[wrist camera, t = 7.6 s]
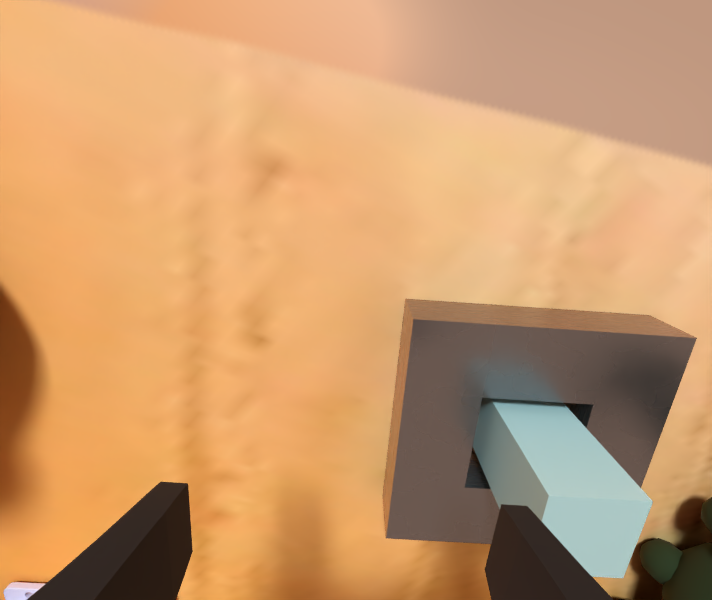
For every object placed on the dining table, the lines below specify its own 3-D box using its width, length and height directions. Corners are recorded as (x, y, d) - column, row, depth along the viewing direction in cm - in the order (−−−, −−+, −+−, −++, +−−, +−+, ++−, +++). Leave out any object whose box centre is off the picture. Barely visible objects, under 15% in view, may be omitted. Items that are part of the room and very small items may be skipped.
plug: (467, 435, 19) (526, 572, 13) (478, 378, 18) (549, 495, 12) (531, 439, 19) (623, 578, 13) (545, 383, 18) (653, 501, 12)
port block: (382, 496, 20) (386, 538, 18) (405, 299, 17) (413, 318, 15) (587, 507, 21) (616, 551, 18) (649, 315, 17) (696, 338, 15)
